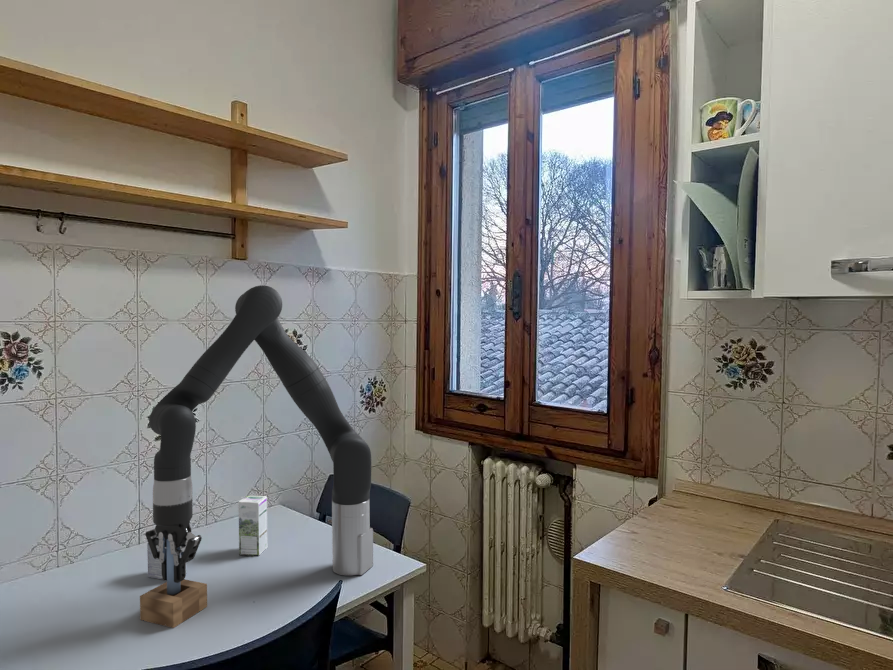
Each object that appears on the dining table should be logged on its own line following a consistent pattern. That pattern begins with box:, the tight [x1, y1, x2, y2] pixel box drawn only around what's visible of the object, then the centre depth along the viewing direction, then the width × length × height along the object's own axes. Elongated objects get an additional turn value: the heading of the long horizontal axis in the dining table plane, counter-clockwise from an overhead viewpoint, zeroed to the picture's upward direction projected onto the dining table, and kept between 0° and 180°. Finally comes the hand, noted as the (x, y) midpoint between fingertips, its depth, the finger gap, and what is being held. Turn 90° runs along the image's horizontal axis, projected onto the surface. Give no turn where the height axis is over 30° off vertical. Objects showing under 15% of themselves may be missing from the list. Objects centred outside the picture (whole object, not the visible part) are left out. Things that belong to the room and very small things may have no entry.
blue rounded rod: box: [166, 539, 181, 595], centre depth 118 cm, size 3×3×12 cm
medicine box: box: [146, 542, 187, 580], centre depth 136 cm, size 8×4×9 cm, turn 71°
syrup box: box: [237, 495, 269, 556], centre depth 150 cm, size 6×6×14 cm
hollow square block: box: [139, 578, 208, 629], centre depth 118 cm, size 9×9×5 cm
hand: (173, 579), depth 118 cm, fingers closed on blue rounded rod, 2 cm apart
